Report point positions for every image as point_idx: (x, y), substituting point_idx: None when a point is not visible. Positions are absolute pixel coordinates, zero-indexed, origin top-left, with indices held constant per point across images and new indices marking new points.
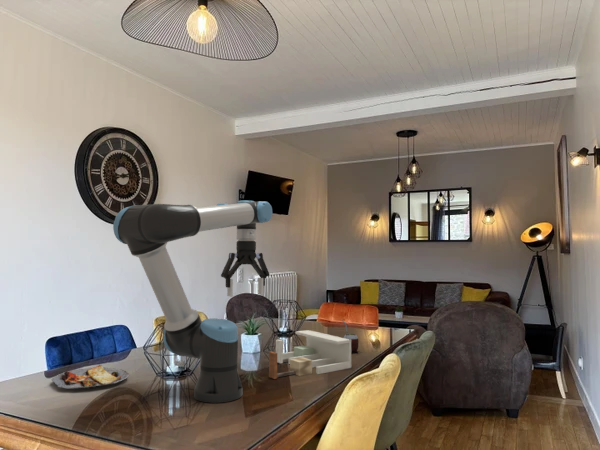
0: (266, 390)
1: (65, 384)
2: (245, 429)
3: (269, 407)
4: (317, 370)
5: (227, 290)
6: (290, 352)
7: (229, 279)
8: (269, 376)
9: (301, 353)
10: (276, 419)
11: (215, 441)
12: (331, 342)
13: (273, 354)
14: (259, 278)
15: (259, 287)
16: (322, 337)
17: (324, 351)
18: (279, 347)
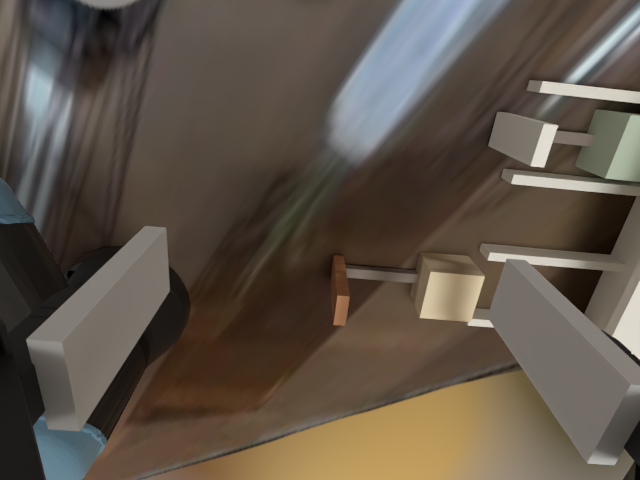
0: (251, 336)
1: None
2: (99, 458)
3: (190, 413)
4: None
5: (119, 252)
6: (608, 97)
7: (35, 403)
8: (333, 257)
9: (595, 168)
10: (168, 456)
11: None
12: None
13: (334, 316)
14: (608, 408)
15: (533, 324)
16: (636, 299)
17: None
18: (518, 151)
